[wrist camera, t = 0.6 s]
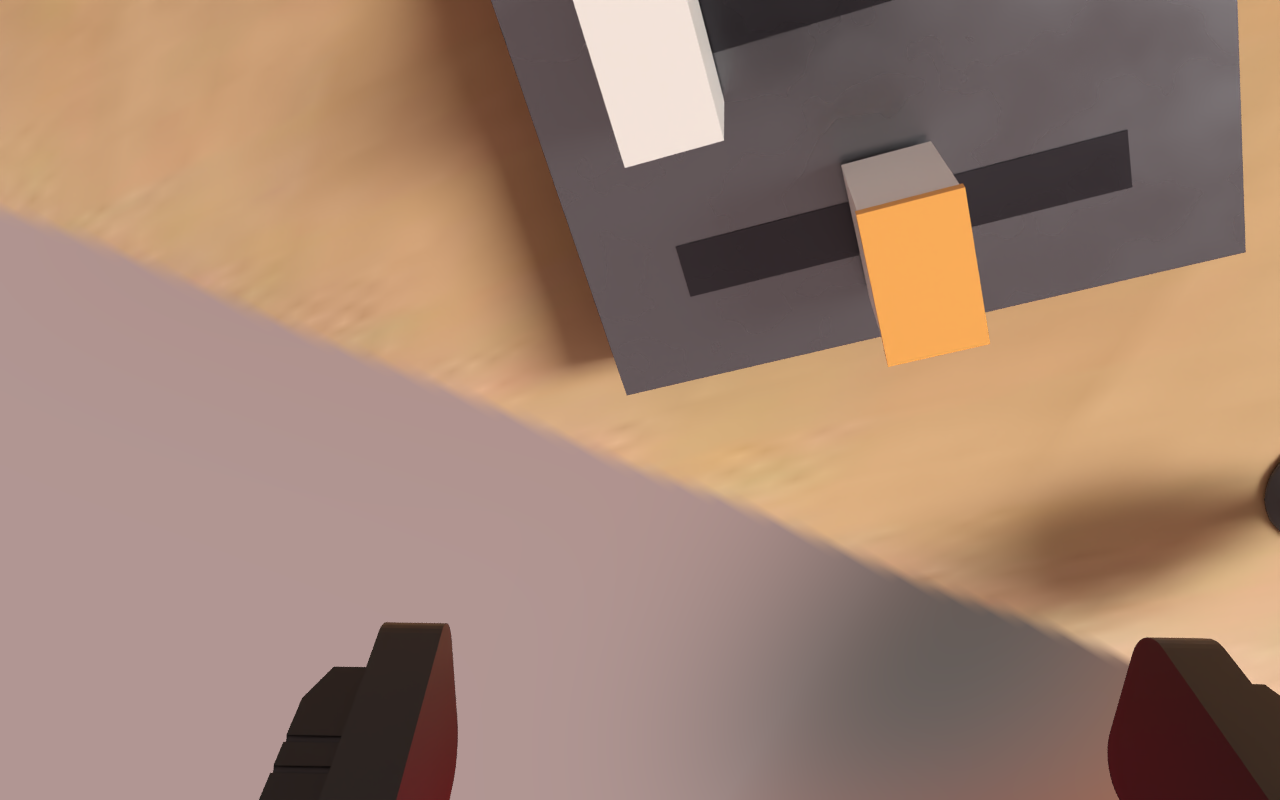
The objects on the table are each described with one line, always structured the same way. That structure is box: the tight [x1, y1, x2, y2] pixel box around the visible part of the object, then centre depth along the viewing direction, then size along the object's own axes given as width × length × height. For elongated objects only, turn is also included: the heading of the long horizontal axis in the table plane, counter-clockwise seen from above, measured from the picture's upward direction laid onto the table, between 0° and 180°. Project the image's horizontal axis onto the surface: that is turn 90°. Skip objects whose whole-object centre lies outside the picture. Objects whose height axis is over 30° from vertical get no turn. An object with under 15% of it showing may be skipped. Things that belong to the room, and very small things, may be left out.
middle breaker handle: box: [573, 0, 724, 168], centre depth 25 cm, size 2×4×4 cm, turn 17°
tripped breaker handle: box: [841, 141, 990, 367], centre depth 27 cm, size 2×4×4 cm, turn 17°
